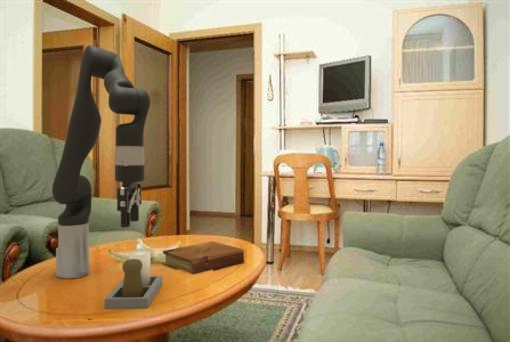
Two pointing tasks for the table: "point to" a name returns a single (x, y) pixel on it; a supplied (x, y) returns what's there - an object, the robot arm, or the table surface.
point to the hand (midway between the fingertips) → (130, 224)
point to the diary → (203, 257)
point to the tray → (119, 302)
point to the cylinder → (143, 265)
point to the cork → (132, 278)
